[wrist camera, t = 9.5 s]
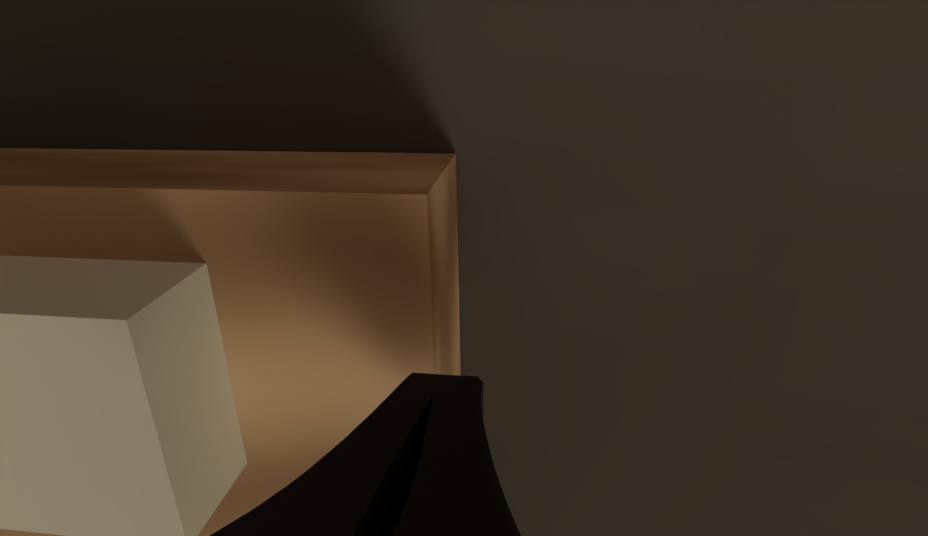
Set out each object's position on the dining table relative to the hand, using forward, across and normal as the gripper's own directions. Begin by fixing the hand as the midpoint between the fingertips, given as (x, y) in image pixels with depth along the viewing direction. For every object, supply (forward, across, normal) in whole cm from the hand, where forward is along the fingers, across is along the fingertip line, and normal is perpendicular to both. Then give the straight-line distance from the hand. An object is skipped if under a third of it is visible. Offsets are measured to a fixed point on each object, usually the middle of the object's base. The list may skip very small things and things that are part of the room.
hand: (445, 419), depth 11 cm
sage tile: (+1, +7, 0) cm, 7 cm away
